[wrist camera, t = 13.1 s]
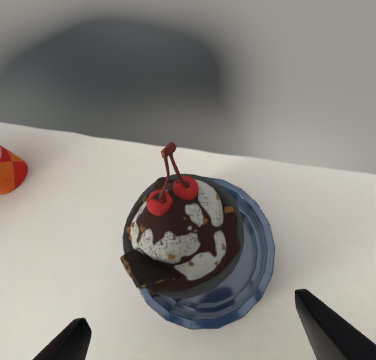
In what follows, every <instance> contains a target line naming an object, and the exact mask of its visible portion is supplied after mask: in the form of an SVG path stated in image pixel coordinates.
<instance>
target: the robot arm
mask: <svg viewBox="0 0 376 360" xmlns="http://www.w3.org/2000/svg"><path fill="white" fill-rule="evenodd" d="M295 304H296V309H297V312H298V314H299V317H300V319H301V322H302V324H303V327H304V329H305V332H306V334H307V337H308V339H309V342H310V344H311V346H312V349H313V351H314V354H315V356H316V358H317V360H376V344H374V343H373V342H372V341H371V340H369V339H368V338H367V337H366V336H364V335H363V334H362V333H361V332H359V331H358V330H357V329H356V328H354V327H353V326H352V325H351V324H349V323H348V322H347V321H346V320H344V319H343V318H342V317H341V316H339V315H338V314H337V313H336V312H334V311H333V310H332V309H331V308H329V307H328V306H327V305H326V304H324V303H323V302H322V301H321V300H319V299H318V298H317V297H316V296H314V295H313V294H312V293H311V292H309V291H308V290H307V289H298V290H295ZM91 334H92V333H91V329H90V327H89V325H88V323H87V321H86V319H85V318H77V319H74V320H73V321H72V322H71V323H70V324H69V325H68V326H67V327H66V328H65V329H64V330H63V331H62V332H61V333H59V334H58V335H57V336H56V337H55V338H54V339H53V340H52V341H51V342H50V343H49V344H48V345H47V346H46V347H45V348H44V349H43V350H42V351H41V352H40V353H39V354H38V355H37V356H36V357H35V358H34V359H33V360H85V358H86V354H87V350H88V347H89V343H90V339H91Z"/></svg>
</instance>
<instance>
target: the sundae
mask: <svg viewBox="0 0 376 360" xmlns="http://www.w3.org/2000/svg"><path fill="white" fill-rule="evenodd" d="M175 150H176V145H175V144H174V143H173V142H171V143H169V144H168V145H167V146H166V147H165V148H164V149H163V150H162V151H161V154H162V157H163V158H164V161H165V166H166V170H167V177H161V178H159V179H157V180H156V182H154V183H153V184H152V185H151V186H149V187H148V188H147V189H146V190H145V191H144V192H143V193H142V194H141V196H140V197H139V199H138V200H137V202H136V203H135V205H134V206H133V208H132V210H131V212H130V214H129V216H128V218H127V221H126V224H125V227H124V233H123V247H124V253H125V254H124V255H123V256H121V261H122V263H123V266H124V268H125V269H126V271H127V273H128V274H129V276H130V277H131V278H132V279H133V282H134V284H135V285H136V287H137V288H140V289H145V288H147V290H148V291H149V293H150V294H152V295H155V294H160V295H162V296H164V297H169V298H192V297H195V296H198V295H202V294H204V293H206V292H208V291H210V290H213V289H215V288H216V287H217V286H218V285H219V284H221V283H222V282H223V281H224V280H225V279H226V278H227V277H228V276H229V275H230V274H231V273H232V272H233V270H234V269H235V267H236V265H237V264H238V262H239V259H240V257H241V254H242V250H243V245H244V226H243V219H242V215H241V213H240V210H239V208H238V206H237V204H236V202H235V200H234V198H233V197H232V195H231V194H230V193H229V192H228V191H227V190H226V189H225V188H223V187H222V186H221V185H219V184H218V183H216V182H214V181H212V180H210V179H207V178H204V177H201V176H197V175H193V174H180V173H179V171H178V168H177V166H176V164H175V161H174V158H173V152H174V151H175ZM168 156H169V157H170V159H171V162H172V165H173V167H174V170H175V172H176V174H174V175H171V176H170V175H169V165H168V159H167V157H168Z"/></svg>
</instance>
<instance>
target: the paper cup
mask: <svg viewBox="0 0 376 360" xmlns="http://www.w3.org/2000/svg"><path fill="white" fill-rule="evenodd" d="M26 174H27V165H26V163H25V162H24V161H23V160H22V159H20V158H19V157H17V156H16V155H14V154H13V153H11V152H10V151H8V150H7V149H5V148H4V147H2V146H1V145H0V194H6V193H9V192H11V191H13V190H14V189H16V188H17V187H18V186H19V185H20V184H21V183H22V182H23V180H24V178H25V176H26Z"/></svg>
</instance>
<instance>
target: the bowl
mask: <svg viewBox="0 0 376 360" xmlns="http://www.w3.org/2000/svg"><path fill="white" fill-rule="evenodd" d="M204 178H207V179H210V180H212V181H214V182H216V183H218V184H219V185H221V186H222V187H223V188H225V189H226V190H227V191H228V192H229V193H230V194H231V195H232V197H233V198H234V200H235V202H236V204H237V206H238V208H239V210H240V213H241V215H242V219H243V226H244V245H243V250H242V254H241V257H240V259H239V262H238V264H237V265H236V267H235V269H234V270H233V272H232V273H231V274H230V275H229V276H228V277H227V278H226V279H225V280H224V281H223V282H222V283H221V284H219V285H218V286H217V287H216V288H215V289H213V290H210V291H208V292H206V293H204V294H202V295H198V296H195V297H192V298H169V297H164V296H162V295H160V294H155V295H152V294H150V293H149V291H148V290H147V288H145V289H140V288H138V290H139V291H140V293H141V295H142V296H143V298H144V300H145V301H146V303H148V305H149V306H150V307H151V308H152V309H154V310H155V311H156V312H157V313H158V314H159V315H161V316H162V317H163V318H164V319H165V320H167V321H169V322H172V323H175V324H177V325H180V326H183V327H186V328H188V329H217V328H221V327H223V326H225V325H227V324H230V323H232V322H234V321H236V320H239V319H241V318H242V317H244V316H245V315H246V314H247V313H248V312H249V311H250V310H251V309H252V308H253V307H254V306H255V305H256V304H257V303H258V302H259V301H260V300H261V298H262V296H263V294H264V292H265V290H266V288H267V285H268V283H269V281H270V279H271V277H272V273H273V265H274V254H275V246H274V241H273V237H272V233H271V228H270V224H269V222H268V221H267V219H266V217H265V215H264V214H263V212H262V210H261V209H260V207H259V205H258V204H257V203H256V202H255V201H254V200H253V199H252V198H251V197H250V196H249V195H248V194H246V193H245V192H244V191H243V190H242V189H241V188H239V187H237V186H234V185H232V184H230V183H228V182H226V181H224V180H221V179H215V178H208V177H204Z"/></svg>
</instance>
